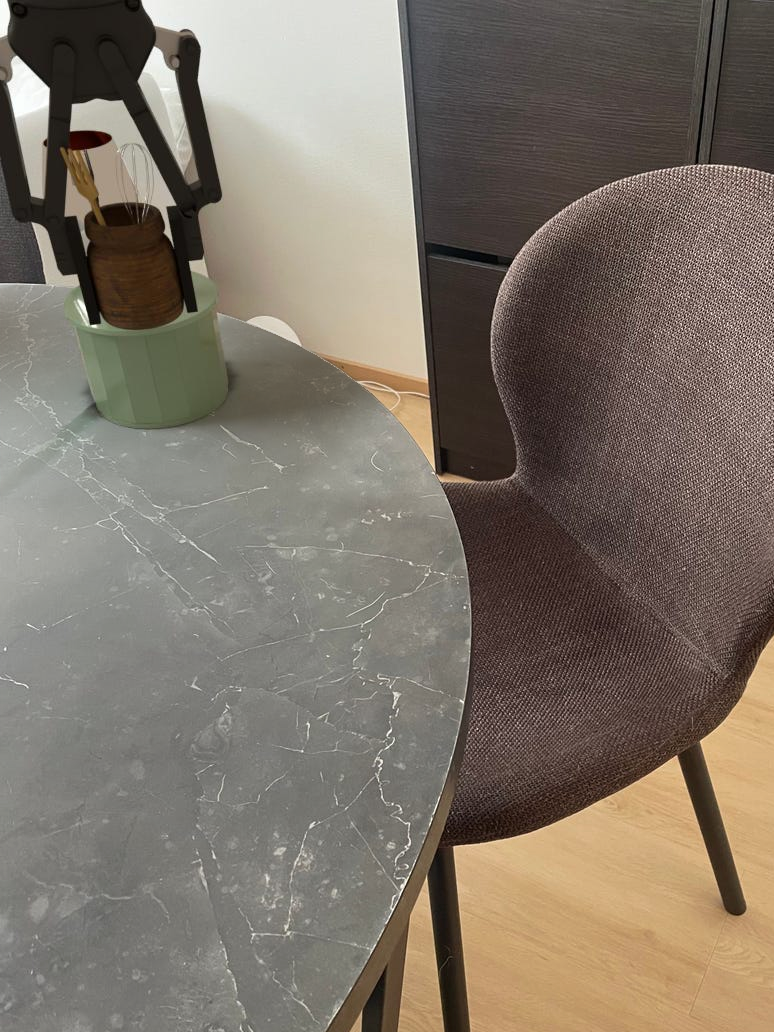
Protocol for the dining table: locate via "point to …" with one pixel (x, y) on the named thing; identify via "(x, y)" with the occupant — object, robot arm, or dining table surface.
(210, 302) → the pot lid
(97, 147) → the wineglass
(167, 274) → the utensil holder
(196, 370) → the pot
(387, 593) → the dining table surface
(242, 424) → the dining table surface
